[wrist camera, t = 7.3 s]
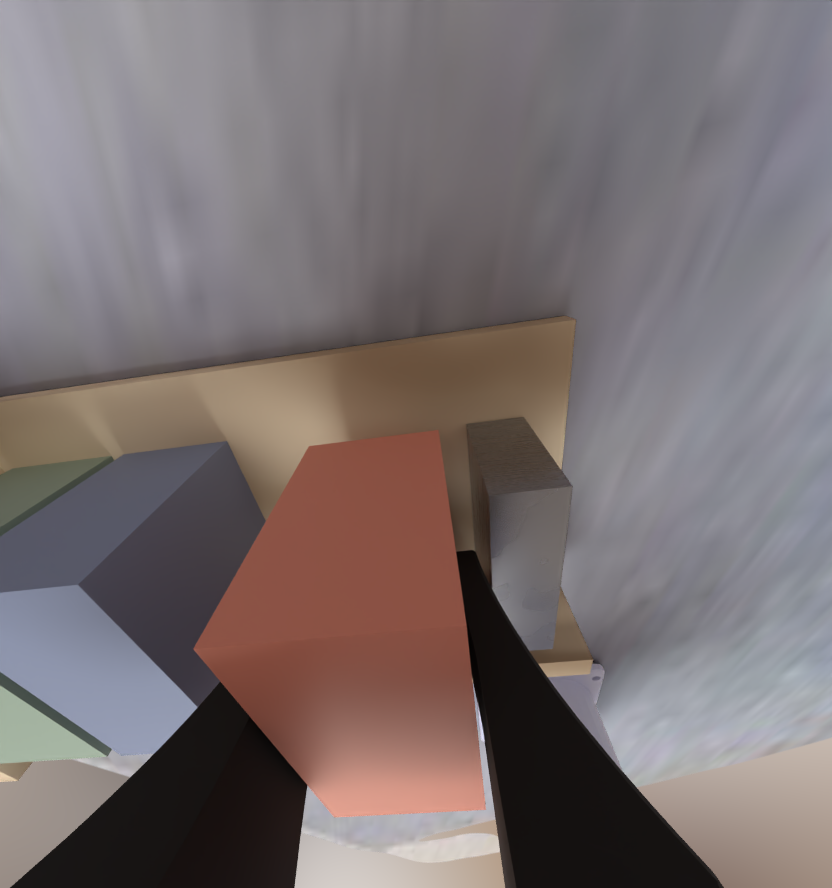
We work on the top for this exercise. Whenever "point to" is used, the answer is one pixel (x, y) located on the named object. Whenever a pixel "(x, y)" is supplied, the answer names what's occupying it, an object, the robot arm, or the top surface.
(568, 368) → the shelf
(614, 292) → the top surface
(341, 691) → the orange rectangular block
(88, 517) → the book
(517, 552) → the bookend
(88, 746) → the book
